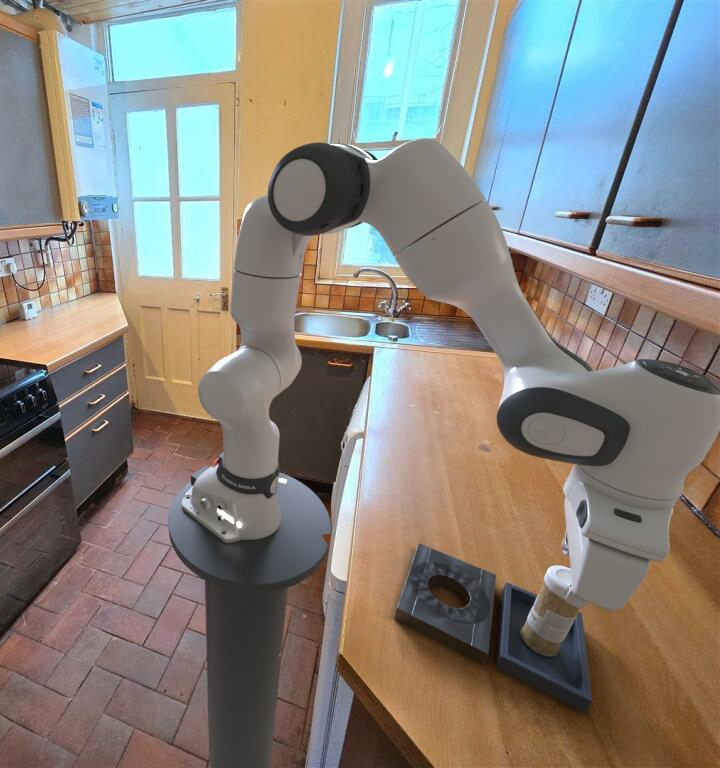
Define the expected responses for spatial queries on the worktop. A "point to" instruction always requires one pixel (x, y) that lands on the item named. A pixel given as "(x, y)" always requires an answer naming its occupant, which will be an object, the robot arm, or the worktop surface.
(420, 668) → the worktop surface
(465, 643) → the drain plate
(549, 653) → the sprinkles bottle
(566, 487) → the robot arm
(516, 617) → the basin tray
